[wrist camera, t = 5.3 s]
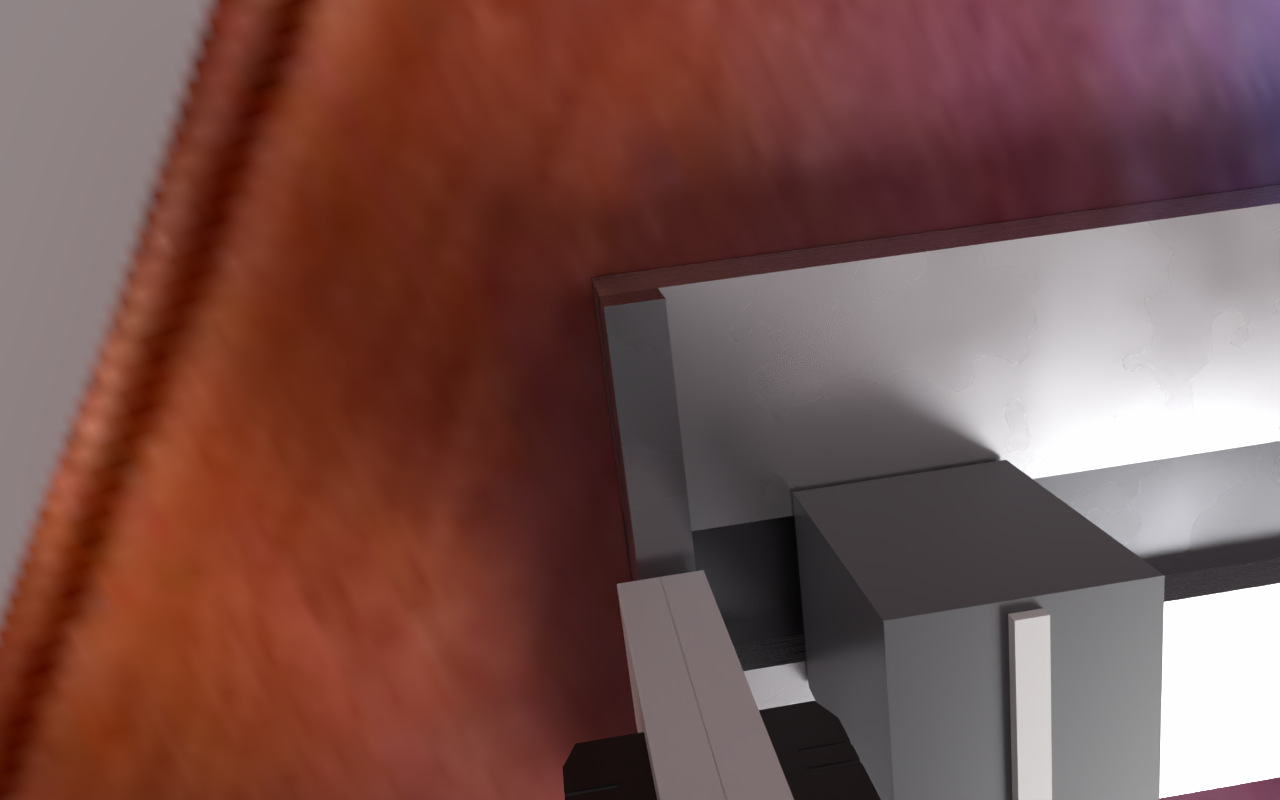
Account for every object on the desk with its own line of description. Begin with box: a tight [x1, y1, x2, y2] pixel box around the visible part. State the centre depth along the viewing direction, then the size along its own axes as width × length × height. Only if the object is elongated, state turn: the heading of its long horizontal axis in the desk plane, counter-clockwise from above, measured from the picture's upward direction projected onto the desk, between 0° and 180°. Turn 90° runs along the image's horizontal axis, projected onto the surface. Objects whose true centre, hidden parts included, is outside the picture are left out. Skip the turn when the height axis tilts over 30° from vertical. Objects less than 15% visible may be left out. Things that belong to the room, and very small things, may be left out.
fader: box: [793, 460, 1165, 800], centre depth 18 cm, size 4×4×6 cm
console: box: [592, 185, 1280, 798], centre depth 21 cm, size 24×12×3 cm, turn 97°
